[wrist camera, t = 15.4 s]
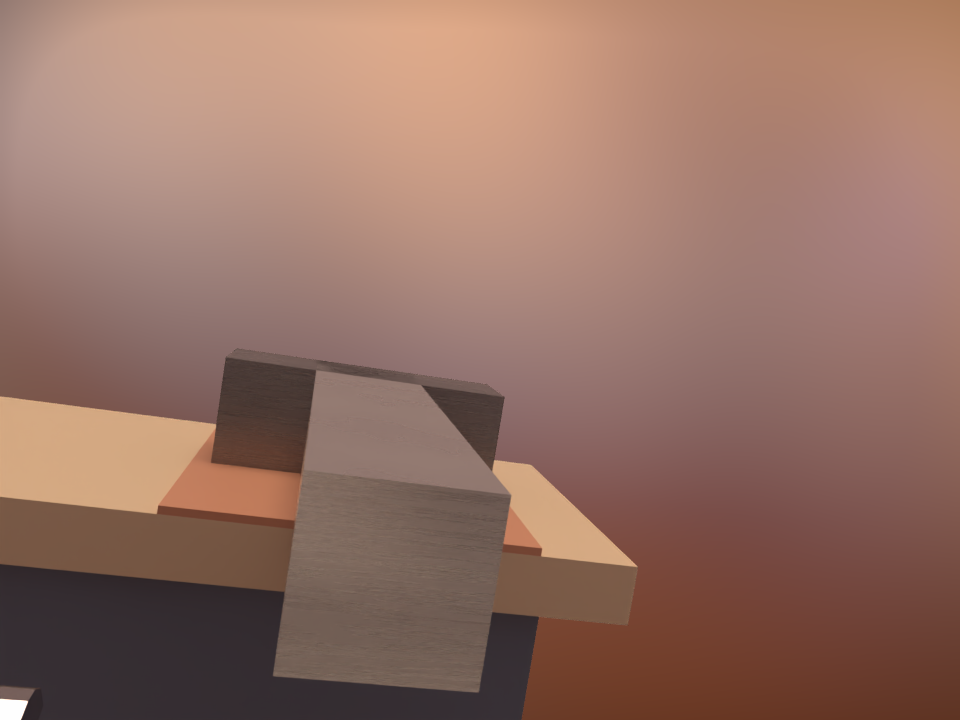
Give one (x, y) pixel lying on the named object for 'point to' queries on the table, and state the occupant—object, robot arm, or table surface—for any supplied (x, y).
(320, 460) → the steel T-bar
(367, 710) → the wood-topped grey cube
